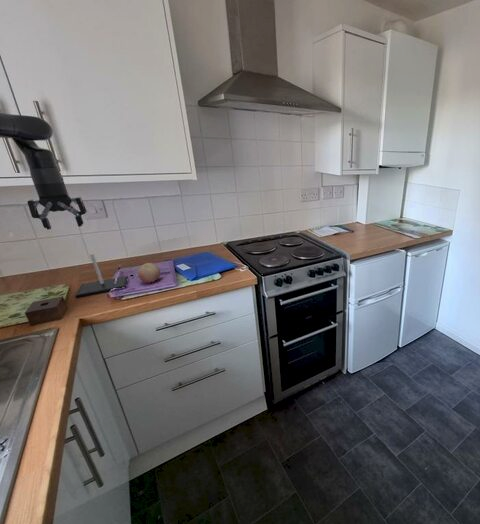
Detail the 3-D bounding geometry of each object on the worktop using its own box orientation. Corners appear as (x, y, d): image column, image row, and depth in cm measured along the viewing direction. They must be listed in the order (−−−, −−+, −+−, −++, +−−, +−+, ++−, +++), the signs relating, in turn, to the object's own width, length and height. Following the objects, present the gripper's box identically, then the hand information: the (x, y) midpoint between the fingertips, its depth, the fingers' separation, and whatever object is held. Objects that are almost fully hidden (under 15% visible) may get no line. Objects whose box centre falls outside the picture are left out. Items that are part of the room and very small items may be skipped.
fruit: (136, 283, 128) (131, 266, 125) (155, 275, 134) (150, 259, 131) (148, 287, 124) (142, 269, 121) (166, 279, 131) (161, 262, 128)
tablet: (76, 298, 116) (75, 295, 116) (82, 286, 125) (81, 284, 124) (126, 288, 123) (125, 285, 123) (128, 278, 132) (127, 275, 132)
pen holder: (30, 325, 100) (24, 312, 98) (38, 313, 106) (32, 301, 104) (62, 318, 103) (56, 306, 101) (68, 308, 110) (62, 296, 108)
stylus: (101, 286, 123) (89, 254, 117) (101, 284, 124) (89, 253, 118) (104, 285, 123) (93, 253, 118) (105, 284, 124) (93, 252, 119)
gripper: (15, 184, 95) (35, 232, 102) (73, 181, 102) (88, 227, 108) (24, 181, 101) (42, 227, 108) (78, 179, 108) (92, 222, 114)
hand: (65, 227), depth 108 cm, fingers open, 8 cm apart
